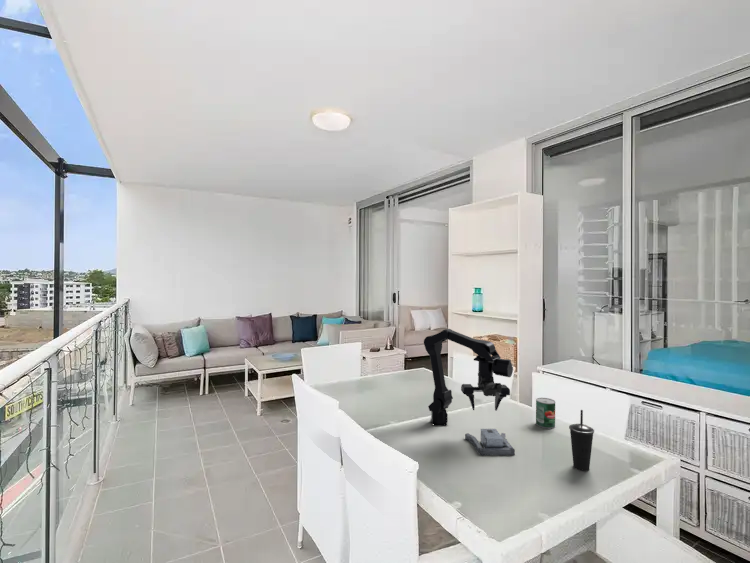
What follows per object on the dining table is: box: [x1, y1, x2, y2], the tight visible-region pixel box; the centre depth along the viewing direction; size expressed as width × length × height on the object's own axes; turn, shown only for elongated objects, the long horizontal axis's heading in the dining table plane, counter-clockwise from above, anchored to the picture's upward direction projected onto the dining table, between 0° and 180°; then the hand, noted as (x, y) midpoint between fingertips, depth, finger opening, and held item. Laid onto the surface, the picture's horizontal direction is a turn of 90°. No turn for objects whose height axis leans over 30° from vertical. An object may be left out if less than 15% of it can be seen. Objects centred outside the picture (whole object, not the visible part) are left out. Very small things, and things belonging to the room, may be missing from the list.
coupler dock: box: [464, 432, 516, 456], centre depth 148 cm, size 17×15×2 cm
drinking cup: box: [568, 409, 595, 472], centre depth 131 cm, size 8×8×20 cm
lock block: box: [480, 428, 504, 448], centre depth 147 cm, size 6×9×6 cm, turn 179°
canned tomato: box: [535, 397, 556, 429], centre depth 168 cm, size 8×8×11 cm
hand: (484, 410), depth 156 cm, fingers open, 9 cm apart
